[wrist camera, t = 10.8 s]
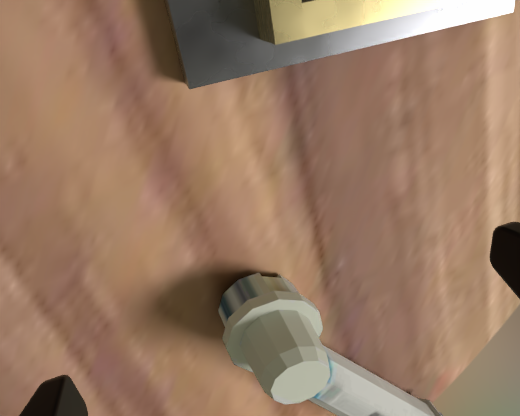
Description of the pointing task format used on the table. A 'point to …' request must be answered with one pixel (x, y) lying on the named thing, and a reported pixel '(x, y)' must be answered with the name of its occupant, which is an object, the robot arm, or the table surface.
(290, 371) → the light grey long piece
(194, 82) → the framed base plate
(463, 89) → the table surface
